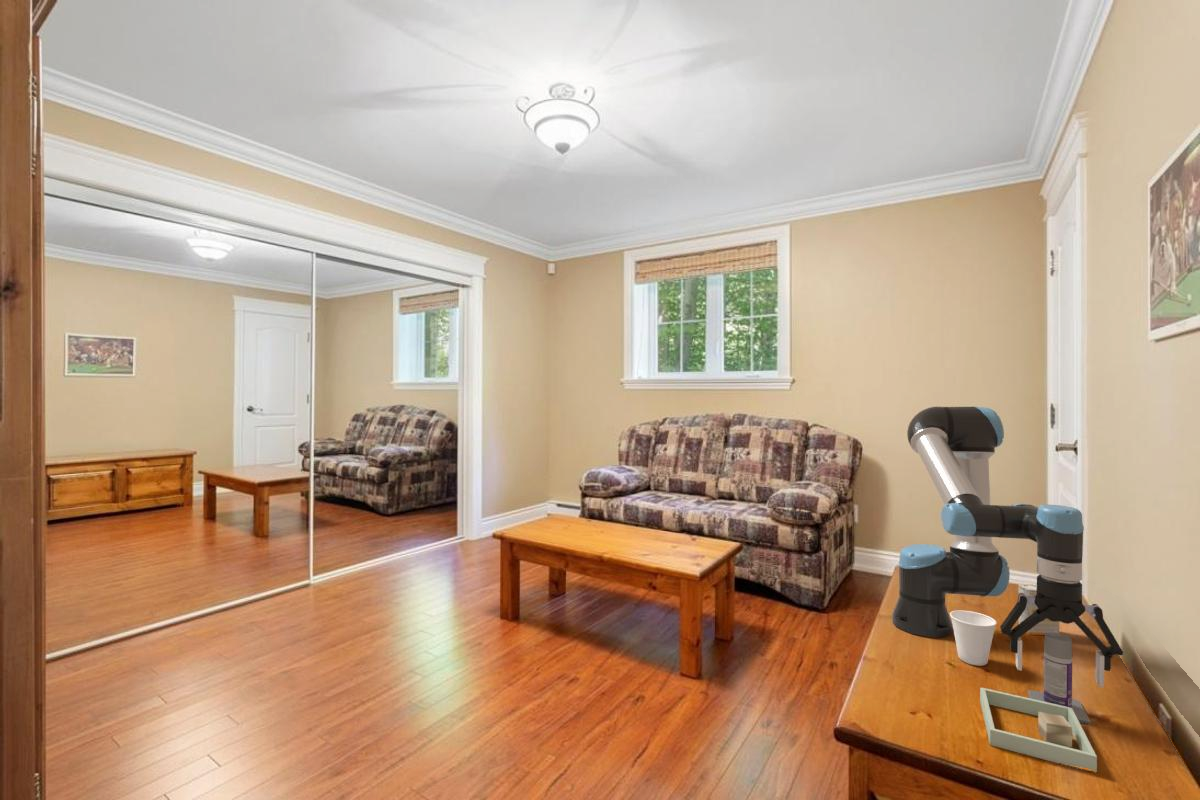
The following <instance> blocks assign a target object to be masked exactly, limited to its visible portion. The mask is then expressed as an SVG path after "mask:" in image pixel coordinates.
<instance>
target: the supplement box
mask: <svg viewBox="0 0 1200 800" xmlns="http://www.w3.org/2000/svg"><path fill="white" fill-rule="evenodd" d="M1020 593H1023V594H1024V595H1025V596H1029V597H1033V598H1035V596H1036V594H1037V584H1034V583H1033V584H1030V583H1029V584H1027V583H1025V584H1024V583H1018V595H1019V594H1020ZM1037 609H1038V607H1037V606H1036V605H1035V603H1032V604H1031V605H1030V606H1026V608H1025V610H1024V612H1023V613H1022V615H1021V616H1020V617H1019V619H1018V624H1020V623H1021V622H1022V621H1024V620H1025V619H1026V618H1028V617H1029V616H1030V615H1032V614H1033V612H1034V611H1035V610H1037ZM1046 632H1056V633H1060V621H1058V622H1054V621H1050V620H1049V619H1047V618H1046V619H1045V620H1044V621H1042V622H1039V623H1038V624H1037V625H1035V626H1034V627H1033V628H1031V629H1030V630H1029V631H1027V632H1026V633H1025V634H1027V635H1030V636H1031V635H1032V636H1034V635H1035V636H1037V635H1039V636H1045V633H1046Z"/></svg>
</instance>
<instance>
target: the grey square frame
mask: <svg viewBox="0 0 1200 800" xmlns="http://www.w3.org/2000/svg"><path fill="white" fill-rule="evenodd" d="M979 690H980V691H979V703H980V707H981V710H982V715H983V720H984V725H985V728H986V729H985V730H986V733H987V737H988V742H989V746H993V747H995V748H1000V749H1004V750H1007V751H1011V752H1015V753H1018V754H1022V755H1025V754H1026V755H1025V756H1030V757H1033V758H1037V759H1041V760H1045V761H1048V762H1053V763H1056V764H1059V763H1062V764H1061V765H1063V764H1068V765H1073V766H1078V767H1083V768H1088V769H1091V770H1094V771H1096V772H1098V770H1097V769H1098V765H1097V764H1098V756H1097V754H1096V752H1095V750H1094V748H1093V747H1092V745H1091V742H1090V741H1089V739H1088V737H1087V734H1086V733H1085V731H1084V729H1083V727H1082V725H1081V723H1080V722H1079V721H1078V719H1077V717H1076V715H1075V713H1074V711H1073V709H1072V708H1070V707H1066V706H1061V705H1057V704H1052V703H1048V702H1044V701H1039V700H1035V699H1030V697H1026V696H1021V695H1015V694H1013V693H1012V694H1011V693H1008V692H1003V691H999V690H994V689H991V688H985V687H980V688H979ZM990 706H994V707H999V708H1002V709H1007V710H1011V711H1015V712H1020V713H1024V714H1028V715H1032V716H1037V717H1038V712H1043V713H1049V714H1055V715H1061V716H1063V717H1064V718H1065V719H1066V720H1067V722H1068V723H1069V724H1070V725H1071V727H1072V736H1073V738H1074V739H1075V742H1076V744H1077V743H1078V744H1077V746H1078V745H1079V746H1078V748H1079V747H1080V748H1079V749H1077V748H1073V747H1072V748H1071V747H1066V746H1061V745H1057V744H1053V743H1049V742H1046V741H1045V740H1041V739H1036V738H1033V737H1028V736H1026V735H1021V734H1017V733H1013V732H1009V731H1004V730H1001V729H997V728H995V724H994V720H993V716H992V712H991V708H990ZM1080 749H1081V750H1080Z"/></svg>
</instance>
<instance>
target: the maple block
mask: <svg viewBox="0 0 1200 800" xmlns="http://www.w3.org/2000/svg"><path fill="white" fill-rule="evenodd" d="M1037 719H1038V720H1037V723H1038V724H1037V725H1038V726H1037V730H1038V732H1039V734H1040V736H1041V737H1042V738H1043V741H1045V742H1049V743H1053V744H1057V745H1061V746H1065V747H1069V748H1071V747H1072V748H1073V733H1072V727H1071V725H1070V724H1069V723H1068V722H1067V720H1066V719H1065V718H1064V717H1063V716H1061V715H1055V714H1049V713H1043V712H1038V716H1037Z"/></svg>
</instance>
